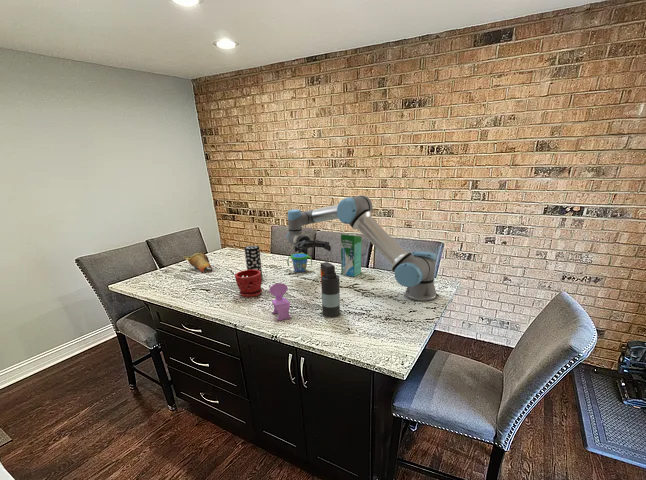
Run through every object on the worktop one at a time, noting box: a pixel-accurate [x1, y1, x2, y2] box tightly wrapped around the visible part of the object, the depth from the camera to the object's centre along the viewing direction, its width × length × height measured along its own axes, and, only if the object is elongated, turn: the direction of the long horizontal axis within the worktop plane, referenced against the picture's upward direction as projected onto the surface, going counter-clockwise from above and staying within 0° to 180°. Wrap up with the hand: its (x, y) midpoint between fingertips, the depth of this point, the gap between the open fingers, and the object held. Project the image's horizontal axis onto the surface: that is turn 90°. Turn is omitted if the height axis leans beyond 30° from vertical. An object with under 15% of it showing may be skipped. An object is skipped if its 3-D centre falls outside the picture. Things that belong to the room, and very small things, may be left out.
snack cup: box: [286, 252, 313, 273], centre depth 213 cm, size 16×10×10 cm
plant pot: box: [234, 269, 263, 298], centre depth 177 cm, size 13×13×12 cm
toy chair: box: [268, 282, 292, 321], centre depth 151 cm, size 8×9×15 cm
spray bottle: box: [320, 261, 341, 318], centre depth 152 cm, size 11×8×23 cm
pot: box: [182, 251, 213, 273], centre depth 219 cm, size 17×11×18 cm
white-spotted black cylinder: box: [243, 245, 264, 282], centre depth 195 cm, size 8×8×20 cm
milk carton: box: [340, 232, 362, 277], centre depth 204 cm, size 9×9×25 cm
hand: (318, 250), depth 167 cm, fingers open, 12 cm apart
